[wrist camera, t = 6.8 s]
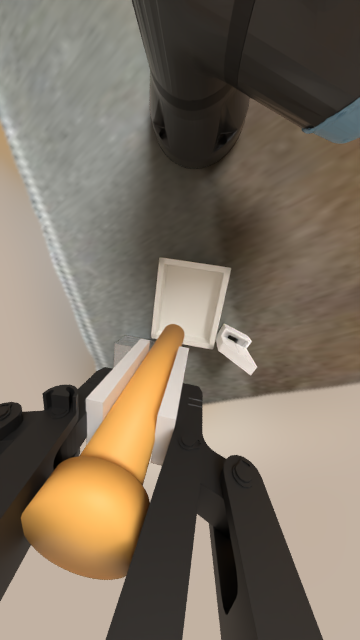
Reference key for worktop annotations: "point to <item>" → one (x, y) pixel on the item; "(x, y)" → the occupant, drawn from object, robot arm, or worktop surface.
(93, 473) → the lock pin
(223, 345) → the white wedge bracket
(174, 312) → the tray
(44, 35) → the worktop surface
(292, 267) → the worktop surface
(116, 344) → the block
